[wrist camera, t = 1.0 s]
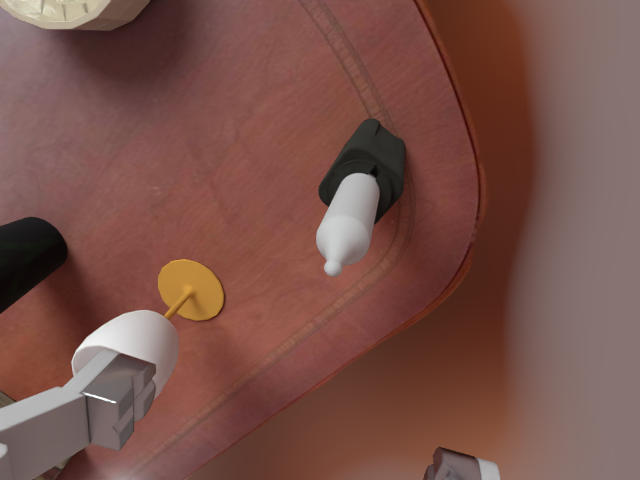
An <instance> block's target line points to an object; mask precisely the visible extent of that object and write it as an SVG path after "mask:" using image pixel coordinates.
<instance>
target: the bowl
mask: <svg viewBox="0 0 640 480" xmlns="http://www.w3.org/2000/svg"><path fill="white" fill-rule="evenodd" d="M149 2H150V0H0V6H1V7H2V8H3V9H5V10H6V11H7V12H9V13H10V14H11V15H13V16H14V17H15V18H17V19H19V20H21V21H24V22H27V23H30V24H32V25H35V26H38V27H41V28H43V29H47V30H72V31H110V30H113V29H115V28H117V27H120V26H122V25H124V24H126V23H128V22H131V21H132V20H134V18H135V17H136V16H137V15H138V14H139V13H140V12H141V11H142V10H143V9H144V7H145V6H146V5H147V4H148V3H149Z"/></svg>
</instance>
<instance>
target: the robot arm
mask: <svg viewBox="0 0 640 480" xmlns="http://www.w3.org/2000/svg"><path fill="white" fill-rule="evenodd" d="M155 374H156V364H154V363H151V362H148V361H145V360H142V359H139V358H136V357H133V356H130V355H127V354H123V353H120V352H117V351H113V350H110V349H107V348H105V349H103V350H101V351H99V352H98V353H97V354H96V355H95V356H94V357H93V358H92V359H91V360H90V361H89V362H88V363H87V364H86V365H85V366H84V367H83V368H82V369H81V370H80V371H79V372H78V373H77V374H76V375H75V376H74V377H73V378H72V379H71V380H70V381H69V382H68V383H67V384H66V385H65V386H64V387H63V388H61V387H55V388H52V389H50V390H47V391H44V392H42V393H39V394H37V395H34V396H32V397H29V398H26V399H24V400H21V401H19V402H16V403H13V404H11V405H8V406H6V407H3V408H1V409H0V480H33V479H34V478H36V477H38V476H39V475H41V474H42V473H44V472H46V471H47V470H49V469H51V468H52V467H54V466H56V465H57V464H59V463H61V462H62V461H64V460H66V459H67V458H69V457H70V456H72V455H74V454H75V453H77V452H79V451H80V450H82V449H84V448H85V447H87V446H89V445H90V443H92V444H95V445H99V446H103V447H106V448H110V449H113V450H117V451H120V450H121V448H122V447H123V445H124V444H125V443H126V441H127V440H128V439H129V437H130V436H131V434H132V433H133V432H134V422H136V421H138V420H140V419H142V418H144V416H145V415H146V413H147V412H148V410H149V409H150V407H151V404H152V402H153V400H154V397H155V392H156V384H155V383H154V381H153V380H152V378H153V377H154V375H155ZM423 480H501V478H500V474H499V470H498V466H497V465H496V463H494V462H490V461H487V460H483V459H480V458H475V457H473V456H470V455H467V454H463V453H460V452H456V451H453V450H449V449H445V448H442V447H438V448H437V449H436V450H435V452H434V455H433V464H432V465H430V466H428V468H427V470H426V473H425V475H424V479H423Z"/></svg>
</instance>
